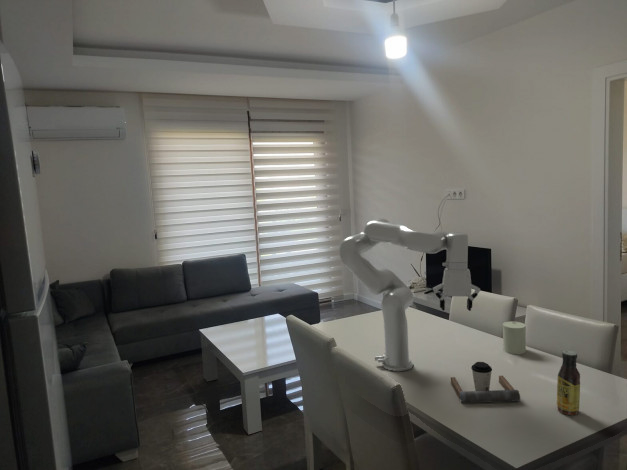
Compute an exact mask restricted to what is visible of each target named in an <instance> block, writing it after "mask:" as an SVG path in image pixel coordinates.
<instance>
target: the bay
mask: <svg viewBox="0 0 627 470" xmlns="http://www.w3.org/2000/svg"><path fill="white" fill-rule="evenodd" d="M498 383H499V384H500V386H501V387H502V388H503V389H501V390H500V389H498V390H496V389H495V390H489V391H475V390H469V391H468V390H464V391H463V389H462V386H460V383H459V381H458V380H457V379H456V377H454V376H452V377H450V385H451V386H452V388H453V391H454V392H455V394H456V396H457V397H458V399H459V400H460V403H461V404H462V403H463V404H464V403H466V404H468V403H497V402H499V403H503V402H506V403H507V402H520V401H521V394H520V391H519V390H518V389H515V387H513V385H511V383H509V381H508V380H507V378H506V377H505V376H504V375H498Z"/></svg>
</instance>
